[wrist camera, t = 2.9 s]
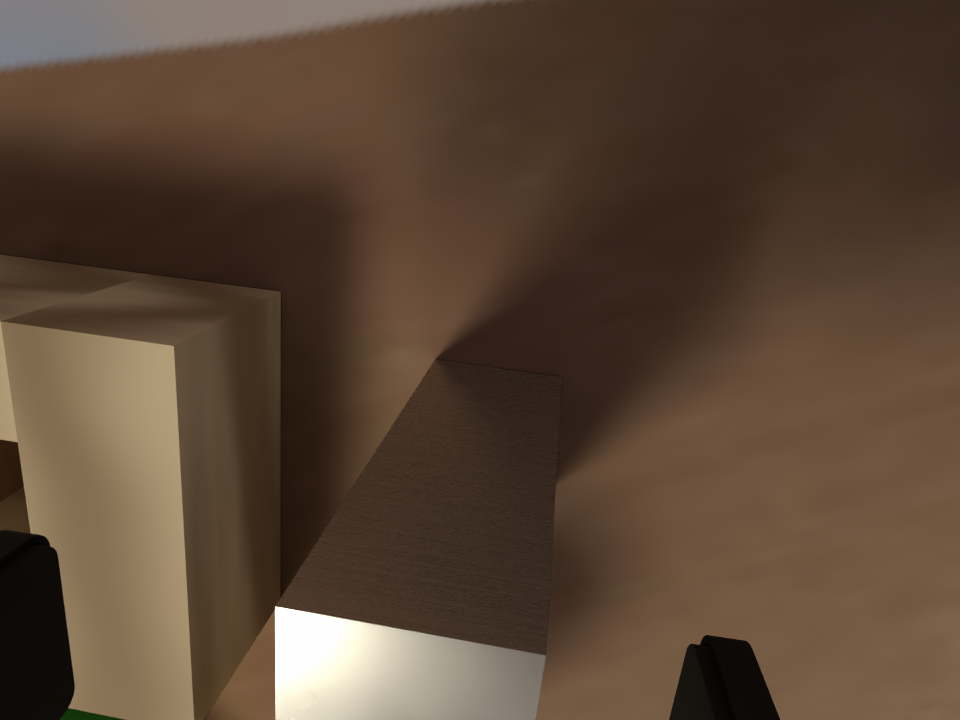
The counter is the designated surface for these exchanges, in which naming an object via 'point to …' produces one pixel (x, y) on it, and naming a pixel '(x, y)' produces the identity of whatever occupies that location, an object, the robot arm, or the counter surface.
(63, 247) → the counter surface
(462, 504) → the square bit
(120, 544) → the socket block
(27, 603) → the robot arm
